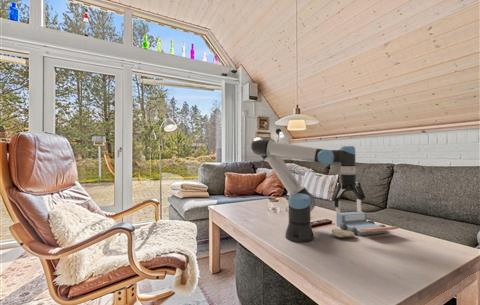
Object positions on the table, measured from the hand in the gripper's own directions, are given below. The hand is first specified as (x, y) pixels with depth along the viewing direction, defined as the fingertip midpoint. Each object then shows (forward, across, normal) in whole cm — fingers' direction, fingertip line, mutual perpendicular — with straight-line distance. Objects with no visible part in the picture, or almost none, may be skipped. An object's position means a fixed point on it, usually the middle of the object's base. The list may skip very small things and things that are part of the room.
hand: (348, 212), depth 128 cm
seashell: (+14, 0, +1) cm, 14 cm away
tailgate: (+10, +14, -2) cm, 17 cm away
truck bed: (+13, +14, +5) cm, 20 cm away
